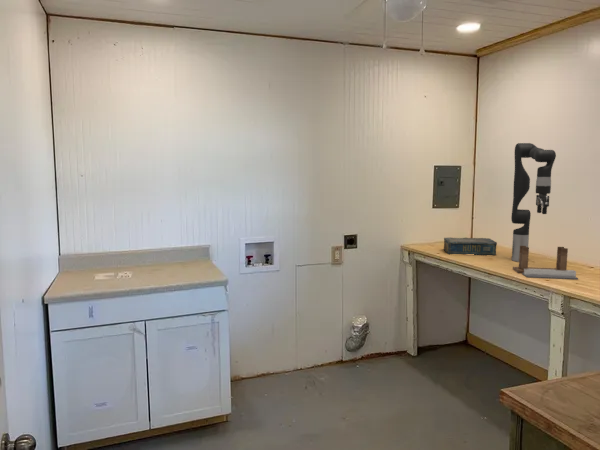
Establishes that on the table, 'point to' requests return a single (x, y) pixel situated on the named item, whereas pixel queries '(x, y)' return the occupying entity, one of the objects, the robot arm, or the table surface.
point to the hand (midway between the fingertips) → (541, 213)
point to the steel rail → (550, 272)
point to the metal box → (470, 246)
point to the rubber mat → (550, 277)
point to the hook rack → (523, 264)
